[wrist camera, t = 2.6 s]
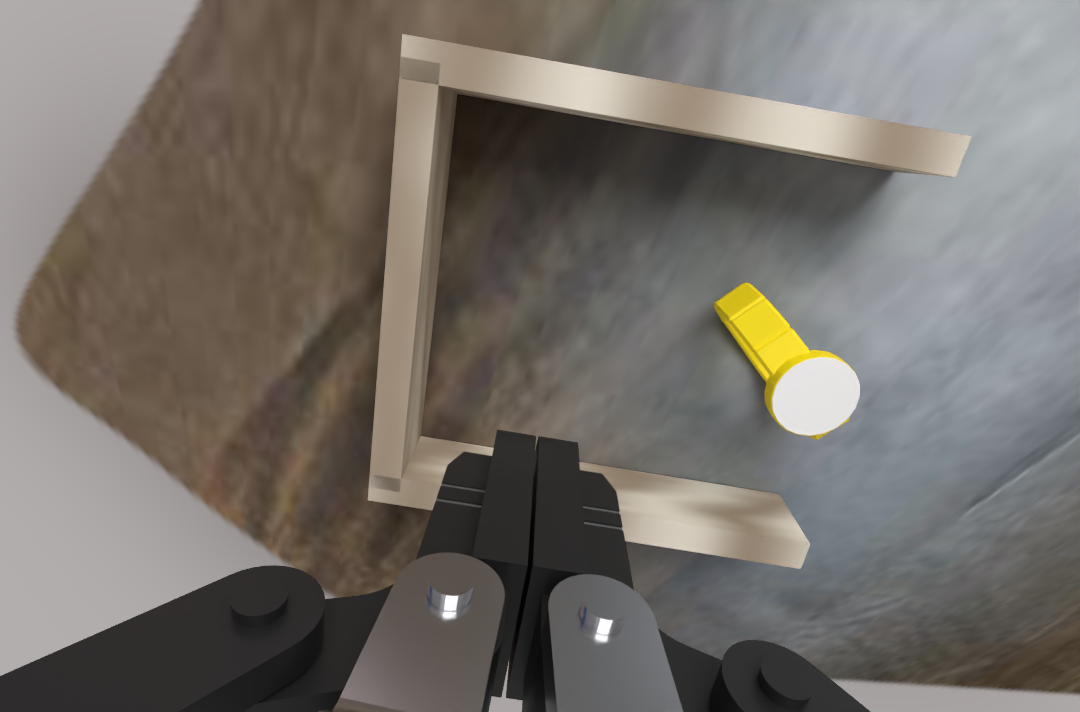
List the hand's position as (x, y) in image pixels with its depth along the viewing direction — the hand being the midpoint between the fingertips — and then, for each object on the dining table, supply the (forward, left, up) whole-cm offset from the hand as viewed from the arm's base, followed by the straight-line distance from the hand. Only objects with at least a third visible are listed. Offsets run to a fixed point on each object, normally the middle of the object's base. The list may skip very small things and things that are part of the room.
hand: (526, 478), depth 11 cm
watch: (-9, 0, -14) cm, 16 cm away
